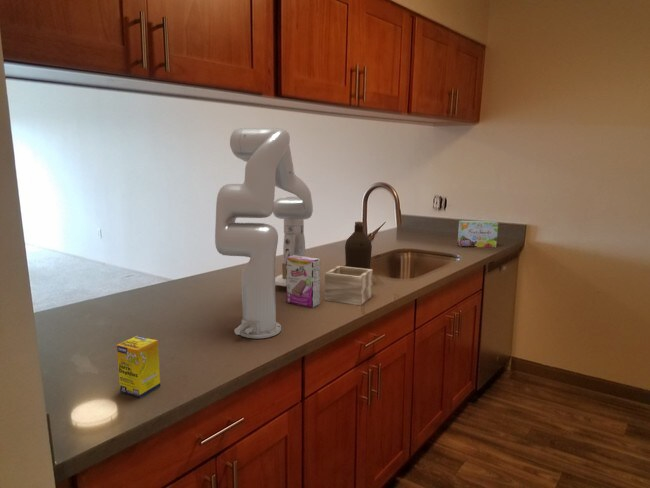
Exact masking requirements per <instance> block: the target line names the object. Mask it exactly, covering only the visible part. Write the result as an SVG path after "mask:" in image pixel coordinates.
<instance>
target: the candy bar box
mask: <svg viewBox="0 0 650 488" xmlns="http://www.w3.org/2000/svg"><path fill="white" fill-rule="evenodd" d="M285 287H286V301H285V302H286V303H289V304H293V305H297V306H302V307H306V308H311V309H313V308H315V307H317V306H319V305H320V303H321V295H320V294H321V290H320V289H321V259H320V258H317V257H316V258H315V257H309V256H298V255H292V256H289V257H286V286H285Z"/></svg>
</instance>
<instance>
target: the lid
mask: <svg viewBox="0 0 650 488" xmlns="http://www.w3.org/2000/svg"><path fill="white" fill-rule="evenodd" d="M281 266H282V269H281V270H282V271H281V272H282V273H281V274H280V275H277V276H275V286H282V287H286V264H285V263H284V262H283V263H282V265H281Z"/></svg>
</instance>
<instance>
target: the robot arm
mask: <svg viewBox="0 0 650 488" xmlns="http://www.w3.org/2000/svg"><path fill="white" fill-rule="evenodd" d="M290 140H291V139H290V134H289V132H288V131H287V130H285V129H283V128H277V127H276V128H275V127H258V128H257V127H252V128H250V127H249V128H247V127H246V128H245V127H244V128H241V127H240V128H237V129H234V131H232V132H231V135H230V138H229V147H230V149H231V152H232V154H233V155H234V156H235V157H236V158H238V159H240V160H242V161H243V162H246V164H245V168H244V181H243V183H227V184H225V185H222V187H220V189H219V190H218V193H217V196H216V204H215V206H216V207H215V225H214V226H215V228H214V230H215V231H214V244H215V250H216V251H217V252H218V254H219V255H222V256H226V257H227V256H228V257H246V258H249V260H248V262H247V263H246V264H245V265H244V267H243V269H242V271H241V274H240V275H241V305H242V306H241V307H242V308H241V309H242V310H241V312H242V319H241V323H240V324H239V325H238V327H236V328H234V334H235V335H237V336H238V335H239V336H241V337H243V338H247V339H253V340H254V339H258V340H259V339H268V338H271V337H274V336H276V335H278V334H279V333H280V332H281V331H282V325H281V324H280V323H279V322H277V319H276V318H277V317H276V316H277V314H276V313H277V312H276V311H277V310H276V309H277V308H276V307H277V306H276V302H277V301H276V285H275V277H276V261H277V260H276V259H277V249H278V243H279V234H278V230H277V229H276V228H275V227H274V225H271V224H268V223H264V222H263V223H262V222H236V219H237V218H240V219H265V218H269V217H270V216H272V214H273V216H274V217H276V218H277V219H281V220H283V234H284V236H283V245H282V246H283V247H282V249H283V263H285V264H286V257H289V256H292V255H298V256H304V257H306V239H305V232H304V231H305V230H304V229H305V226H304V224H305V223H304V220H308V219H310V218H311V217H312V214H313V211H314V207H313V206H314V205H313V199H312V193H311V190H310V188H309V186H308V185H307V184H306V183H305V182H304V181H303V180H302V178H301V177H298V175H296V174H295V168H294V163H293V158H292V157H293V156H292V152H291V146H290V142H291V141H290ZM276 188H278V189H280V190H282V191H285V192H287V193H290V194H293V195H294V196H286V197H279V198H277V199H275V192H276Z"/></svg>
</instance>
